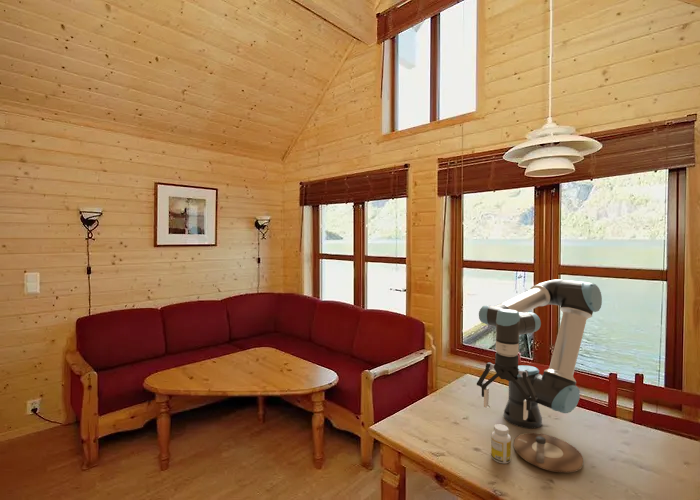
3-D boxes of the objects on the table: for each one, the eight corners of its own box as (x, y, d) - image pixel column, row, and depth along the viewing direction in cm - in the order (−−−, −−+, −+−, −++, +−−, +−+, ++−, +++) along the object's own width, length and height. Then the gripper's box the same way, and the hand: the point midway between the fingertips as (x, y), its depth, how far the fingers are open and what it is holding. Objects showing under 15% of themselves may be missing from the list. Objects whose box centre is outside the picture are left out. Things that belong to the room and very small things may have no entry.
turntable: (505, 453, 131) (506, 429, 130) (524, 429, 147) (525, 407, 147) (575, 481, 116) (576, 454, 116) (588, 451, 132) (589, 427, 132)
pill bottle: (509, 455, 132) (510, 424, 131) (511, 466, 126) (512, 433, 125) (490, 451, 134) (491, 421, 134) (491, 462, 128) (492, 430, 128)
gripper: (468, 348, 134) (467, 404, 134) (542, 364, 117) (540, 428, 118) (476, 344, 139) (475, 398, 140) (548, 359, 123) (546, 420, 124)
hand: (505, 412), depth 129 cm, fingers open, 13 cm apart
